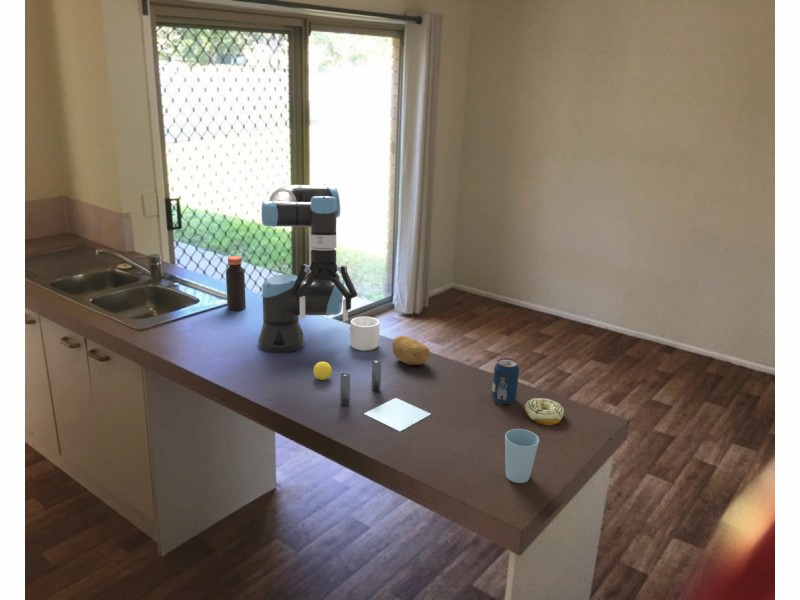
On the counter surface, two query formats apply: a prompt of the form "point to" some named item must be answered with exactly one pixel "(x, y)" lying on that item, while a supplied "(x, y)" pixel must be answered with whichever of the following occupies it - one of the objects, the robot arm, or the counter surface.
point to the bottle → (235, 284)
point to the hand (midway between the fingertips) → (323, 319)
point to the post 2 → (376, 375)
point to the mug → (364, 333)
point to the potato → (410, 350)
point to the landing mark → (397, 414)
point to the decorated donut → (544, 411)
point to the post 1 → (345, 390)
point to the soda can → (505, 381)
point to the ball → (322, 370)
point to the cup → (520, 454)
